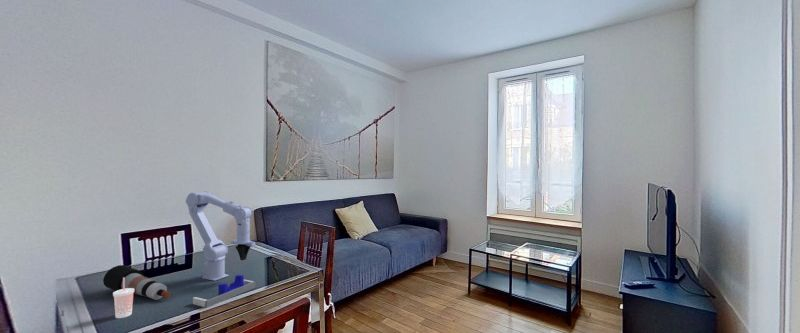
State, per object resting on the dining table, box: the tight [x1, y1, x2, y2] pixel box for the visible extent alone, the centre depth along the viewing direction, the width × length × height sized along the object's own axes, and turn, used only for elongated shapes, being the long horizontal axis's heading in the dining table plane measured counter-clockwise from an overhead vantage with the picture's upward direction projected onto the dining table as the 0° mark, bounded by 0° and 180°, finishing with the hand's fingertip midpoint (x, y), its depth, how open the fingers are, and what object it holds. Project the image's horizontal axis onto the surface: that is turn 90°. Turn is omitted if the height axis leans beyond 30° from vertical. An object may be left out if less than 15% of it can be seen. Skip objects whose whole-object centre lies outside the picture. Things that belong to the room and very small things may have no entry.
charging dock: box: [192, 279, 257, 309], centre depth 135 cm, size 8×23×2 cm, turn 156°
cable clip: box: [218, 274, 245, 296], centre depth 137 cm, size 12×4×6 cm, turn 171°
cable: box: [102, 264, 172, 301], centre depth 135 cm, size 10×34×10 cm, turn 67°
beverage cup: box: [112, 277, 134, 319], centre depth 117 cm, size 6×6×14 cm
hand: (243, 259), depth 155 cm, fingers closed
